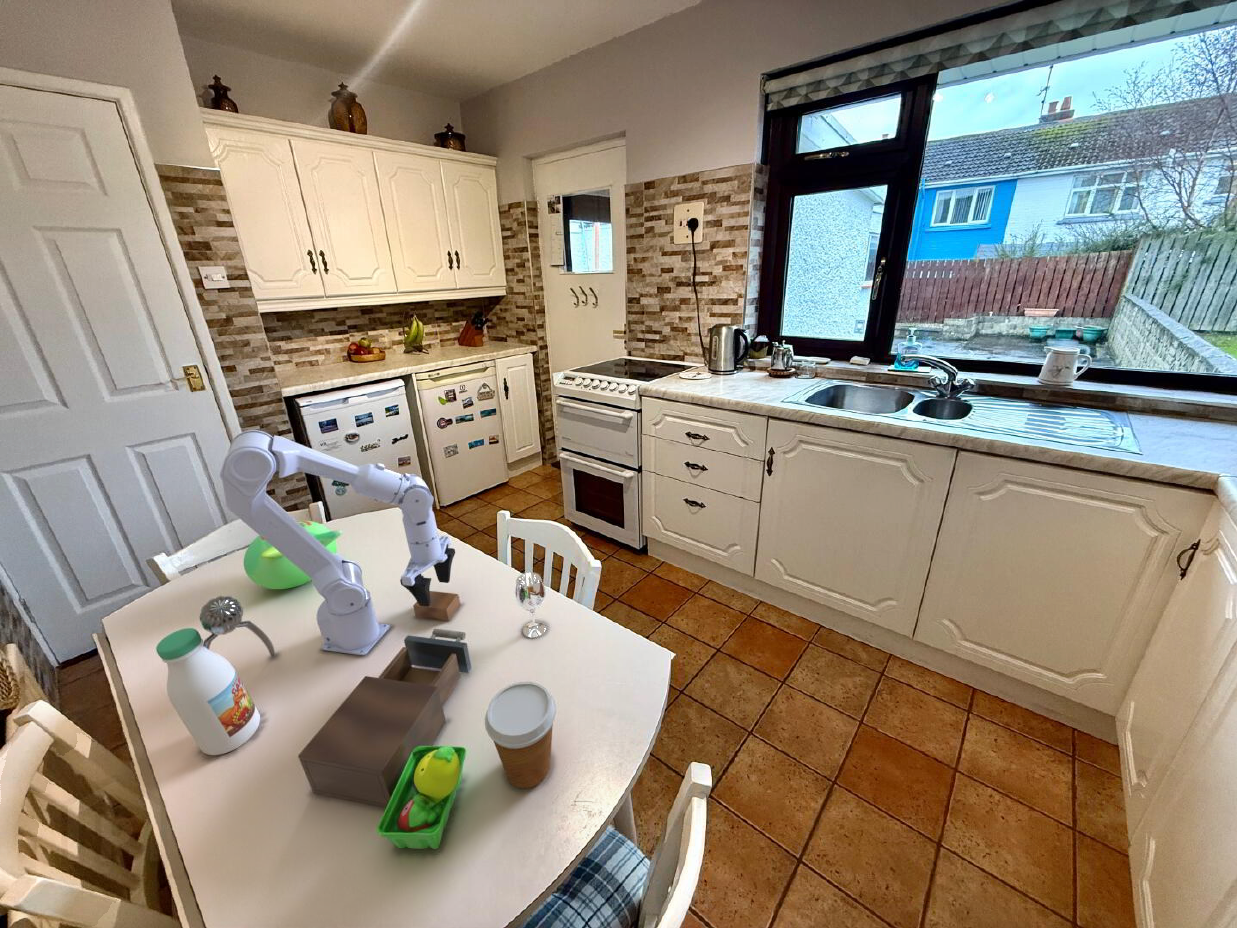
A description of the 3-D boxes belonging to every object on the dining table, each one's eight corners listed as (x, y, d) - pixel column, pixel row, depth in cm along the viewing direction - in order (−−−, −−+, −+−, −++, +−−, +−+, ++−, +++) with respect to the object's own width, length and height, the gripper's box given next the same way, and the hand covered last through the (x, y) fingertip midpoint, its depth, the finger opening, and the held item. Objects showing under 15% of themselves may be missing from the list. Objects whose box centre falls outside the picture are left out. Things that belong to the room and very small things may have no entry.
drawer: (426, 643, 92) (420, 619, 90) (482, 650, 90) (477, 625, 88) (368, 718, 77) (360, 692, 75) (434, 729, 75) (427, 702, 73)
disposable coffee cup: (502, 812, 64) (490, 750, 59) (489, 751, 72) (478, 692, 68) (570, 783, 68) (564, 721, 63) (551, 727, 76) (544, 669, 71)
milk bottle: (215, 766, 71) (152, 669, 63) (193, 741, 75) (130, 647, 66) (271, 724, 77) (220, 630, 68) (248, 703, 81) (197, 612, 72)
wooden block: (415, 617, 100) (413, 605, 99) (428, 601, 105) (426, 590, 104) (448, 621, 99) (446, 609, 98) (460, 605, 103) (458, 593, 102)
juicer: (275, 655, 91) (276, 608, 70) (201, 691, 84) (177, 651, 63) (254, 610, 93) (248, 552, 72) (179, 642, 86) (149, 587, 64)
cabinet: (376, 710, 79) (365, 675, 76) (446, 721, 77) (438, 686, 74) (313, 793, 67) (297, 755, 64) (394, 809, 65) (382, 771, 62)
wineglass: (543, 641, 93) (537, 590, 88) (515, 638, 94) (507, 587, 89) (552, 621, 98) (547, 572, 93) (526, 618, 99) (519, 569, 94)
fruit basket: (420, 769, 70) (405, 713, 66) (481, 770, 70) (469, 713, 65) (383, 859, 59) (361, 800, 55) (454, 860, 59) (438, 801, 55)
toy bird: (324, 550, 125) (308, 500, 119) (358, 572, 115) (343, 518, 110) (243, 587, 111) (221, 531, 106) (274, 614, 102) (252, 556, 96)
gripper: (420, 559, 87) (433, 618, 93) (459, 519, 100) (469, 573, 106) (385, 555, 89) (400, 614, 94) (428, 517, 102) (439, 570, 107)
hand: (435, 592), depth 100 cm, fingers open, 7 cm apart
